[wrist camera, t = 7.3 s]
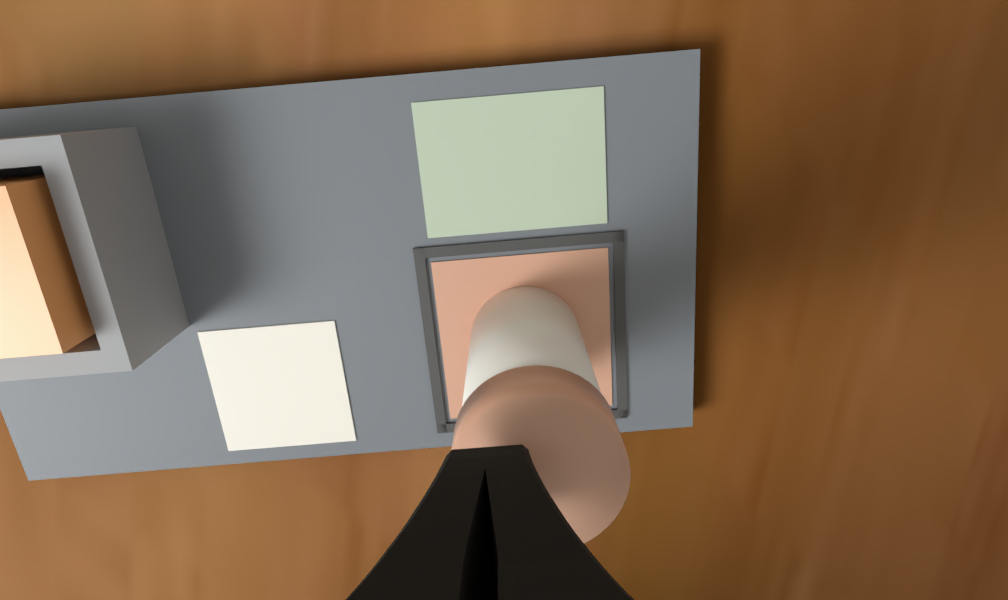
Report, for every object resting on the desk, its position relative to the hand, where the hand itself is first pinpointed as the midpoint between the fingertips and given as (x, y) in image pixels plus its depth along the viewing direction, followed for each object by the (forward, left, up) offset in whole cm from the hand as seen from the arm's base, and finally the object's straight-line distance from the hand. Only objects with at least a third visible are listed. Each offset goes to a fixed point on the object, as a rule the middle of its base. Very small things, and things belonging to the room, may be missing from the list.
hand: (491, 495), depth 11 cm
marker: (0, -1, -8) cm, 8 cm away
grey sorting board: (+2, +4, -8) cm, 10 cm away
